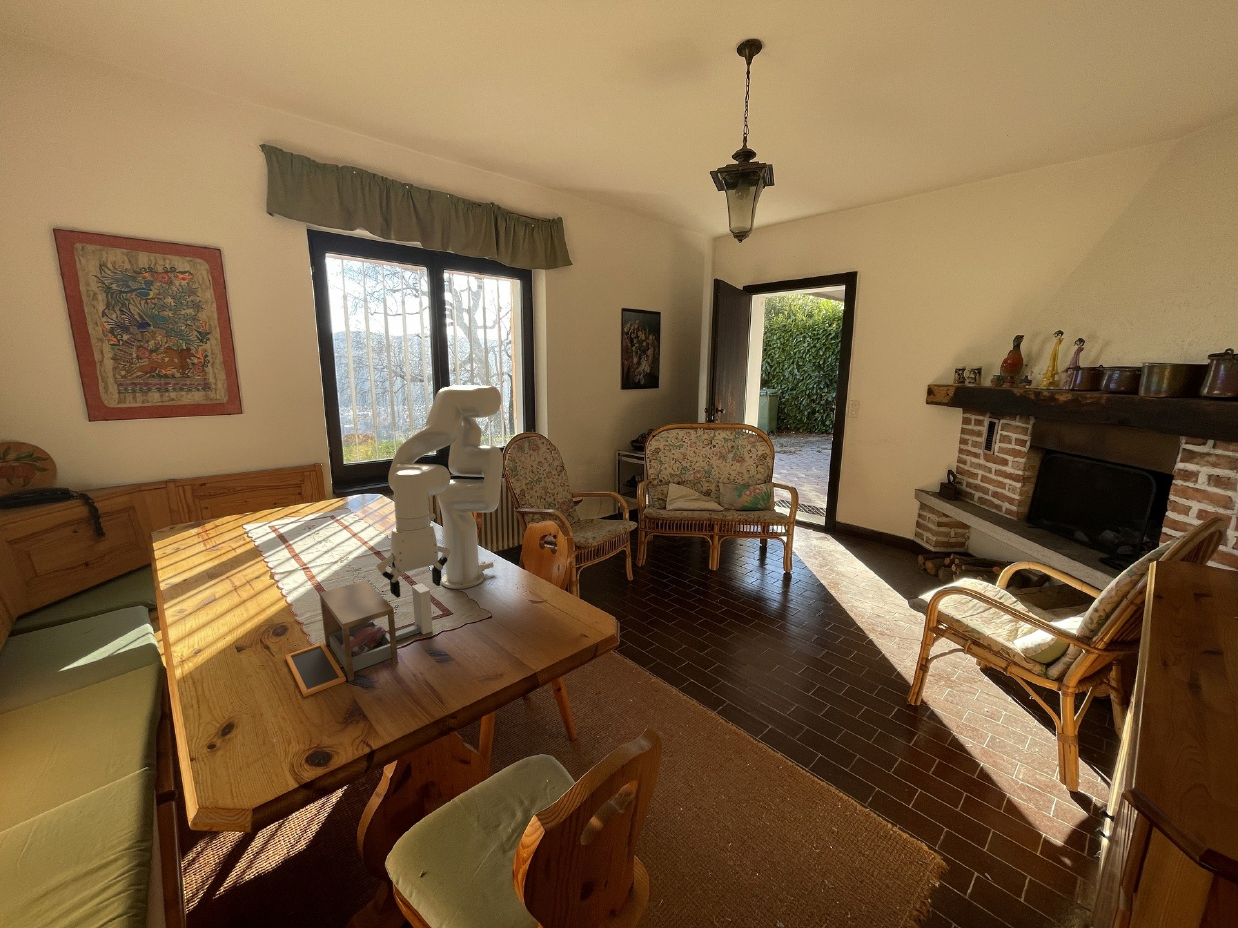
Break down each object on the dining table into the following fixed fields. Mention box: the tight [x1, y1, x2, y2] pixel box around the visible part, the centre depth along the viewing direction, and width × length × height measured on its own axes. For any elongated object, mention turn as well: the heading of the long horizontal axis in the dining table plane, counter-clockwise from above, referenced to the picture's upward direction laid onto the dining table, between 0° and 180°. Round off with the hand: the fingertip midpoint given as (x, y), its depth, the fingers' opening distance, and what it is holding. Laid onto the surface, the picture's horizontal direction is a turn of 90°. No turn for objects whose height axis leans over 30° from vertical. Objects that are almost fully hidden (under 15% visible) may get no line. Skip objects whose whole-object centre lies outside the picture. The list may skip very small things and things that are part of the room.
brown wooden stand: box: [319, 580, 399, 682], centre depth 112 cm, size 10×18×13 cm, turn 43°
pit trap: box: [284, 642, 347, 698], centre depth 107 cm, size 8×18×1 cm, turn 43°
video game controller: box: [340, 625, 387, 657], centre depth 113 cm, size 10×5×7 cm, turn 148°
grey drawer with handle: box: [329, 582, 434, 673], centre depth 116 cm, size 20×14×11 cm
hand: (417, 589), depth 120 cm, fingers open, 9 cm apart
